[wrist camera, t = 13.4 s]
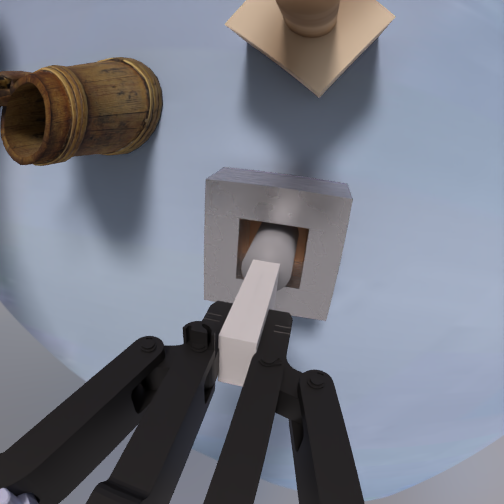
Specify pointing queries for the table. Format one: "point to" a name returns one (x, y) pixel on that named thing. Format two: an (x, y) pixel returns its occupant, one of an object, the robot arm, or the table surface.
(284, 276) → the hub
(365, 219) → the table surface
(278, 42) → the stand
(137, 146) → the wooden mug
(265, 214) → the square metal nut
